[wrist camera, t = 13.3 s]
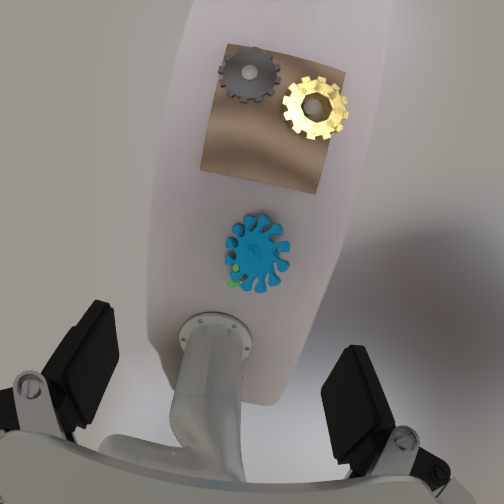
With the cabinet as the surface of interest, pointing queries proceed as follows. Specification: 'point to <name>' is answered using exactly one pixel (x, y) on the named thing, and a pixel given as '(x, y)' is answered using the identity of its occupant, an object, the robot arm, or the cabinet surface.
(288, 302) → the cabinet surface
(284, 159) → the gear board
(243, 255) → the gear
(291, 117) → the brass gear
